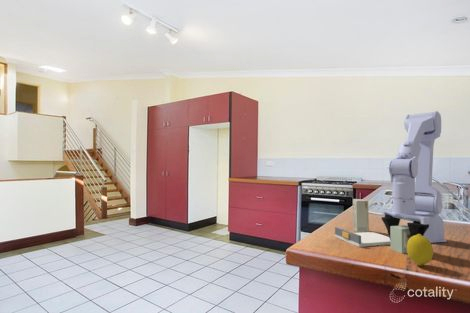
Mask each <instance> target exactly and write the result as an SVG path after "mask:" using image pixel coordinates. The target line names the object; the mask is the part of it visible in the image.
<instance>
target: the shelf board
mask: <svg viewBox="0 0 470 313" xmlns="http://www.w3.org/2000/svg"><path fill="white" fill-rule="evenodd" d="M334 238H337V239H339V240H342V241H343V242H346V243H348V244H351V245H353V246H355V247H358V248H362V247H376V246H377V245H378V246H388V245H390V238H389V236H387V235H383V234H381V233H378V232H375V231H369V232H362V233H357V232H353V231H352V232H351V231H348V230H346V229H344V228H341V227H337V226H335V227H334Z"/></svg>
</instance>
